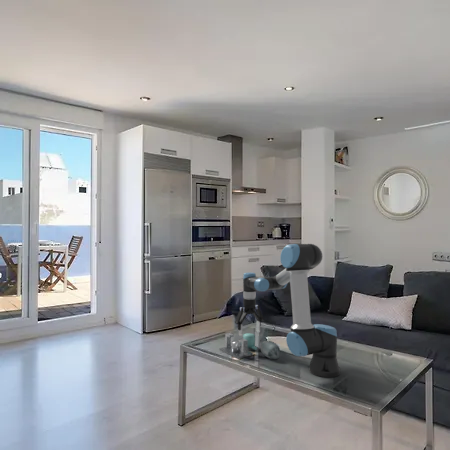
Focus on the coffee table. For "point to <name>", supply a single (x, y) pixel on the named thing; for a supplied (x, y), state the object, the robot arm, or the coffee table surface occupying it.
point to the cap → (250, 340)
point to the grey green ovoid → (270, 349)
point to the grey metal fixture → (236, 347)
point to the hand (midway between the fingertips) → (249, 333)
